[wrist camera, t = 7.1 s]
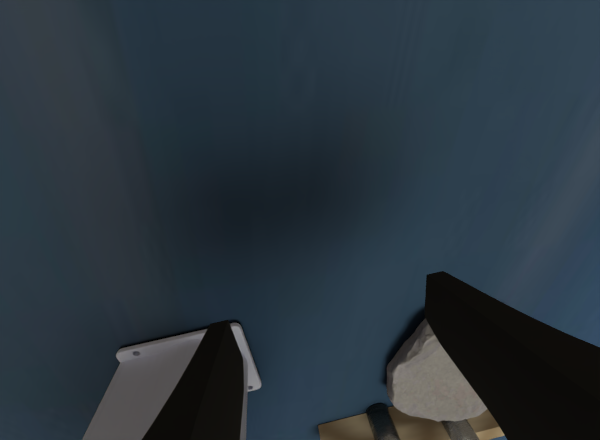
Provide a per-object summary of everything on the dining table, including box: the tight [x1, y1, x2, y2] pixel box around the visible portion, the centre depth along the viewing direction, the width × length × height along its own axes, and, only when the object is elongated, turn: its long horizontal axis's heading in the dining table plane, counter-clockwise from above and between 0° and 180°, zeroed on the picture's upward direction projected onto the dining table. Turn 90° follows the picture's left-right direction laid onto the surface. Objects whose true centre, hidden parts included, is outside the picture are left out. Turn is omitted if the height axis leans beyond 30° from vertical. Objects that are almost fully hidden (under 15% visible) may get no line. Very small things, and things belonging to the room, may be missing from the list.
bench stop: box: [318, 403, 504, 440], centre depth 28 cm, size 20×3×5 cm, turn 99°
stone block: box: [386, 318, 487, 422], centre depth 26 cm, size 12×5×10 cm
